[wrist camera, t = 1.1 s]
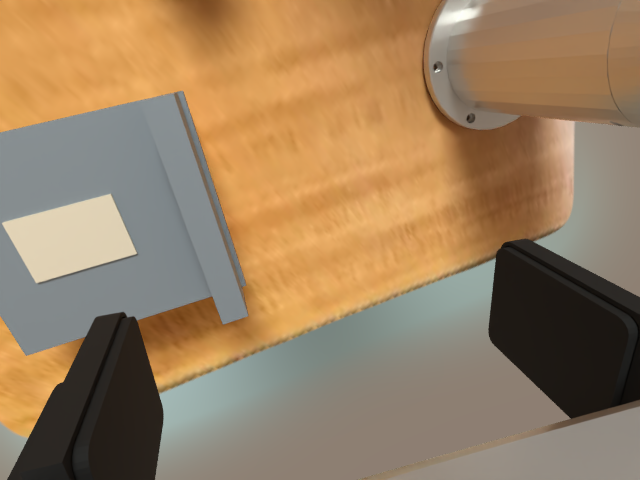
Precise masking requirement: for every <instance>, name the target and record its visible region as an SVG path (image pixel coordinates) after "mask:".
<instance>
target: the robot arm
mask: <svg viewBox="0 0 640 480" xmlns="http://www.w3.org/2000/svg"><path fill="white" fill-rule="evenodd" d="M423 59H424V74H425V79H426V83H427V88H428V90H429V93H430V95H431V97H432V100H433V101H434V103H435V104H436V106H437V107H438V109H439V110H440V112H441V113H443V114H444V115H445V116H446V117H447V118H448V119H449V120H451V121H452V122H454V123H456V124H457V125H459V126H463V127H466V128H469V129H477V130H491V129H496V128H499V127H503V126H505V125H507V124H509V123H511V122H513V121H515V120H516V119H518V118H519V117H520V116H530V117H540V118H550V119H559V120H569V121H579V122H588V123H598V124H608V125H618V126H627V127H637V128H640V0H442V2H441V3H440V5H439V6H438V8H437V9H436V11H435V14H434V16H433V18H432V21H431V23H430V25H429V29H428V33H427V37H426V40H425V48H424V57H423ZM434 66H435V69H433V67H434ZM489 337H490V340H491V341H492V343H493V344H494V345H495V346H496V347H497V348H498V349H499V350H500V351H501V352H502V353H503V354H504V355H505V356H506V357H507V358H508V359H509V360H510V361H511V362H512V363H514V365H516V366H517V367H518V368H519V369H520V370H521V371H522V372H523V373H524V374H525V375H526V376H527V377H528V378H529V379H530V380H531V381H532V382H533V383H534V384H535V385H536V386H537V387H538V388H540V389H541V390H542V391H543V392H544V393H545V394H546V395H547V396H548V397H549V398H550V399H551V400H552V401H553V402H554V403H555V404H556V405H557V406H558V407H560V409H561V410H563V412H565V413H566V414H567V415H568V416H569V417H570V418H571V419H569V420H566V421H562V422H558V423H555V424H551V425H548V426H544V427H541V428H537V429H533V430H530V431H527V432H523V433H519V434H516V435H512V436H509V437H505V438H502V439H498V440H495V441H491V442H488V443H484V444H481V445H477V446H473V447H470V448H467V449H463V450H459V451H456V452H453V453H449V454H445V455H442V456H439V457H435V458H431V459H428V460H424V461H421V462H417V463H414V464H411V465H407V466H404V467H400V468H396V469H393V470H390V471H386V472H383V473H379V474H376V475H372V476H369V477H365V478H362V479H359V480H640V297H638V296H636V295H634V294H632V293H630V292H629V291H626V290H624V289H623V288H621V287H619V286H617V285H615V284H613V283H611V282H609V281H607V280H606V279H604V278H602V277H600V276H598V275H596V274H594V273H592V272H590V271H588V270H586V269H584V268H582V267H581V266H578V265H577V264H575V263H573V262H571V261H569V260H567V259H565V258H563V257H561V256H559V255H557V254H555V253H554V252H552V251H550V250H548V249H546V248H544V247H542V246H540V245H538V244H536V243H534V242H532V241H530V240H528V239H521V240H515V241H510V242H505V243H504V244H503V245H502V247H501V249H499V250H498V251H497V255H496V263H495V273H494V282H493V292H492V302H491V311H490V321H489ZM162 427H163V408H162V403H161V400H160V396H159V393H158V390H157V386H156V383H155V380H154V376H153V373H152V369H151V366H150V363H149V359H148V356H147V353H146V349H145V346H144V343H143V339H142V336H141V333H140V329H139V326H138V322H137V320H136V318H135V317H134V316H132V317H127V315H126V314H125V313H124V312H119V313H113V314H108V315H102V316H97V317H96V318H95V319H94V321H93V323H92V325H91V327H90V329H89V331H88V333H87V335H86V337H85V339H84V341H83V343H82V345H81V347H80V349H79V351H78V353H77V356H76V358H75V360H74V362H73V364H72V366H71V368H70V370H69V372H68V374H67V376H66V378H65V380H64V382H63V383H60V384H58V385H57V386H56V387H55V388H54V390H53V391H52V393H51V395H50V397H49V399H48V401H47V403H46V405H45V407H44V409H43V411H42V413H41V415H40V417H39V419H38V421H37V423H36V425H35V427H34V428H33V430H32V432H31V434H30V436H29V438H28V440H27V442H26V444H25V446H24V448H23V450H22V452H21V454H20V456H19V458H18V460H17V462H16V464H15V466H14V468H13V470H12V472H11V474H10V475H9V477H8V479H7V480H155V475H156V467H157V461H158V454H159V447H160V440H161V433H162Z"/></svg>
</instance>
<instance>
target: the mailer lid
mask: <svg viewBox="0 0 640 480" xmlns="http://www.w3.org/2000/svg"><path fill="white" fill-rule="evenodd" d="M243 286H246V282H245V279H244V276H243V273H242V270H241V267H240V263H239V260H238V257H237V254H236V251H235V248H234V245H233V242H232V239H231V236H230V233H229V230H228V227H227V224H226V221H225V218H224V215H223V211H222V208H221V205H220V202H219V199H218V196H217V193H216V190H215V187H214V184H213V181H212V178H211V175H210V172H209V169H208V166H207V163H206V159H205V156H204V153H203V150H202V147H201V144H200V141H199V138H198V135H197V132H196V129H195V126H194V123H193V120H192V117H191V114H190V111H189V107H188V104H187V101H186V98H185V95H184V92H183V91H179V92H174V93H170V94H166V95H161V96H157V97H153V98H148V99H144V100H140V101H135V102H131V103H127V104H122V105H118V106H114V107H109V108H105V109H101V110H96V111H92V112H87V113H83V114H79V115H74V116H70V117H66V118H61V119H57V120H53V121H48V122H44V123H40V124H35V125H31V126H27V127H22V128H18V129H13V130H9V131H5V132H0V316H1V318H2V319H3V321H4V322H5V324H6V325H7V327H8V328H9V330H10V332H11V333H12V335H13V336H14V338H15V339H16V341H17V343H18V344H19V346H20V347H21V349H22V350H23V352H24V353H25V355H26V356H27V355H30V354H33V353H36V352H40V351H43V350H46V349H49V348H52V347H55V346H58V345H61V344H65V343H68V342H71V341H74V340H77V339H80V338H83V337H86V335H87V333H88V331H89V329H90V327H91V325H92V323H93V321H94V319H95V318H96V317H97V316H102V315H108V314H113V313H119V312H124V313H125V314H126V315H127V317H132V316H134V317H135V318H136V320H140V319H143V318H146V317H149V316H152V315H155V314H158V313H162V312H165V311H168V310H171V309H174V308H177V307H180V306H183V305H187V304H190V303H193V302H196V301H199V300H202V299H205V298H208V297H213V299H214V302H215V305H216V307H217V310H218V313H219V315H220V318H221V321H222V324H226V323H229V322H232V321H235V320H238V319H241V318H244V317H247V316H248V312H247V307H246V303H245V298H244V293H243V289H242V287H243Z"/></svg>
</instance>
